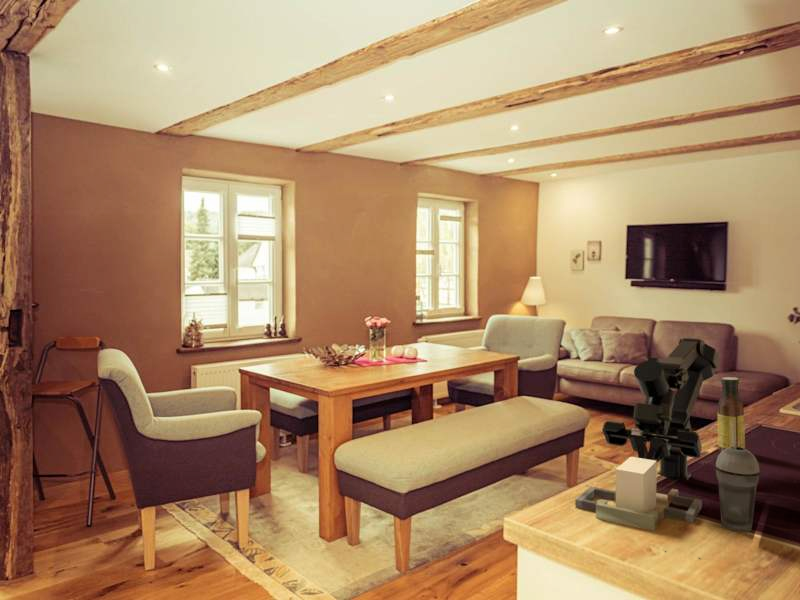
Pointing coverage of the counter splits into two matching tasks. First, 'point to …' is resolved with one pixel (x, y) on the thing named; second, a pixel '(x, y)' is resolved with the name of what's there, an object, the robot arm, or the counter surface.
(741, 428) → the sauce bottle
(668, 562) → the counter surface
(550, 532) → the counter surface
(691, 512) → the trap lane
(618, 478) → the cream block
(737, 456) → the beverage cup
